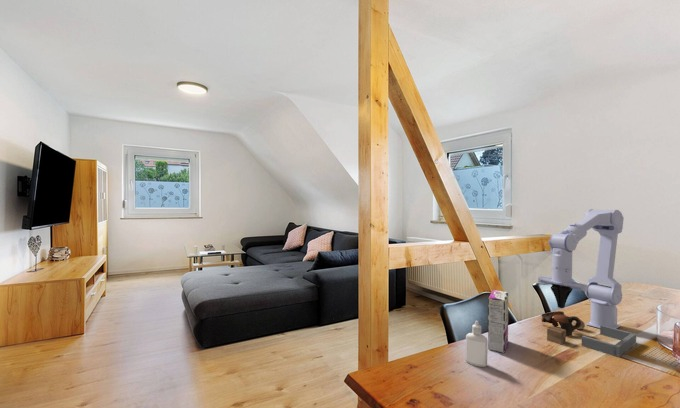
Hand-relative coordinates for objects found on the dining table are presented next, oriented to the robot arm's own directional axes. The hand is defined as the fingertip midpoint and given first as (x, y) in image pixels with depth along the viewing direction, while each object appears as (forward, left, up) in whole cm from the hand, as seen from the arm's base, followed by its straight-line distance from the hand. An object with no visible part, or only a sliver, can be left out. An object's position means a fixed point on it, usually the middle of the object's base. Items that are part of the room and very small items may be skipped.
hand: (561, 307), depth 113 cm
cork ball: (-13, +1, -10) cm, 16 cm away
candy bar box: (+26, -8, -10) cm, 29 cm away
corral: (-6, +11, -10) cm, 16 cm away
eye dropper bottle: (+43, -5, -10) cm, 44 cm away
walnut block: (+6, +1, -10) cm, 12 cm away
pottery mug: (-5, -2, -10) cm, 12 cm away
